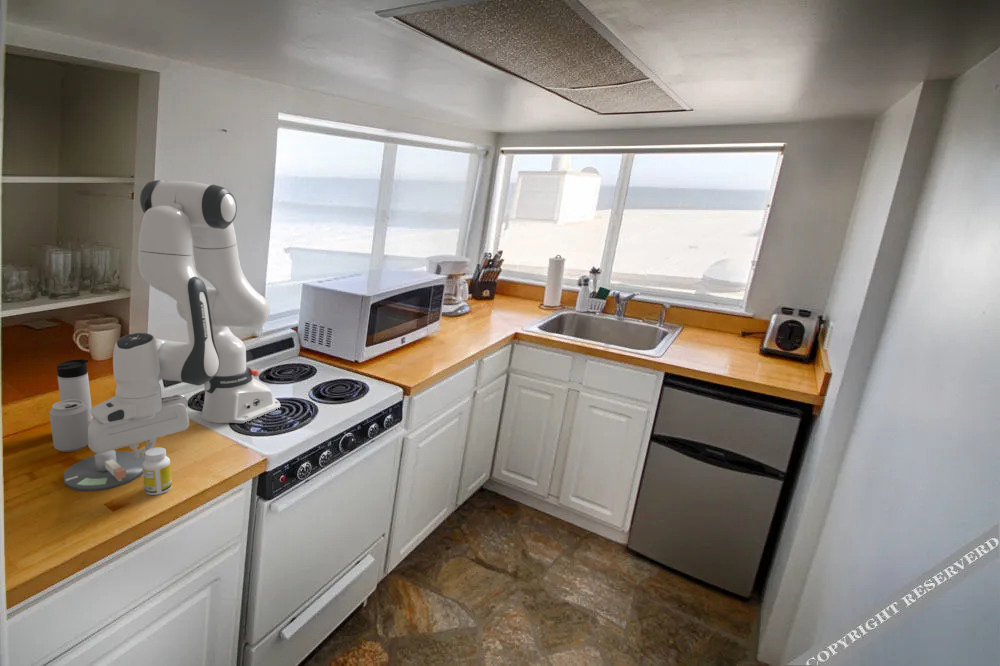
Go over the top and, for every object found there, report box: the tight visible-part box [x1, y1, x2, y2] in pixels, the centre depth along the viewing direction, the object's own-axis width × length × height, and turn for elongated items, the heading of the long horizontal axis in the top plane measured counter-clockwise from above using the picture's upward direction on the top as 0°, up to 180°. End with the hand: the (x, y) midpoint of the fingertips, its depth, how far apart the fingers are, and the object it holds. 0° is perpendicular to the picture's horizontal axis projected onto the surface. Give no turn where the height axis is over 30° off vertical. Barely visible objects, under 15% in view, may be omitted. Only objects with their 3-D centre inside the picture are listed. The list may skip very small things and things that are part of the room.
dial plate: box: [63, 451, 146, 492], centre depth 126 cm, size 16×16×1 cm
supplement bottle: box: [142, 446, 173, 496], centre depth 121 cm, size 5×5×10 cm
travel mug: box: [56, 358, 94, 423], centre depth 141 cm, size 6×7×20 cm
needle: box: [94, 449, 126, 480], centre depth 123 cm, size 11×4×4 cm, turn 55°
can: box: [48, 399, 89, 453], centre depth 134 cm, size 8×8×12 cm
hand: (143, 456), depth 126 cm, fingers closed
